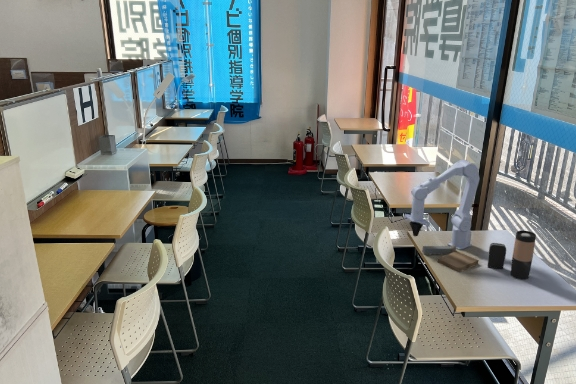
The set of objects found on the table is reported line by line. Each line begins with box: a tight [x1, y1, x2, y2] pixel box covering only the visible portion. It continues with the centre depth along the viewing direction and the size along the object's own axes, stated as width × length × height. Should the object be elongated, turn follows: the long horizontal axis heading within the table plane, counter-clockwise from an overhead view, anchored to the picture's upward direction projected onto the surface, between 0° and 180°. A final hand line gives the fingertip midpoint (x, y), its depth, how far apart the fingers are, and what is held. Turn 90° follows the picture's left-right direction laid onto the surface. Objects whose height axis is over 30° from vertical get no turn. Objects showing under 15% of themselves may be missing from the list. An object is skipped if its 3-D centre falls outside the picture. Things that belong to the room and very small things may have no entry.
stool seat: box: [436, 245, 479, 273], centre depth 207 cm, size 15×15×4 cm
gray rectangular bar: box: [422, 245, 451, 255], centre depth 216 cm, size 13×3×3 cm, turn 88°
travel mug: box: [510, 229, 537, 280], centre depth 191 cm, size 8×8×20 cm
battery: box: [486, 242, 507, 270], centre depth 201 cm, size 7×4×11 cm, turn 69°
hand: (415, 235), depth 221 cm, fingers closed
